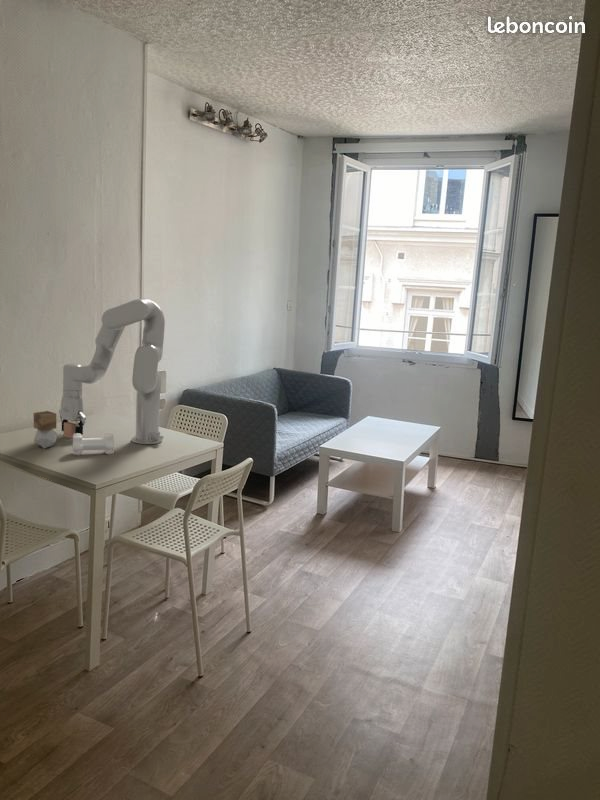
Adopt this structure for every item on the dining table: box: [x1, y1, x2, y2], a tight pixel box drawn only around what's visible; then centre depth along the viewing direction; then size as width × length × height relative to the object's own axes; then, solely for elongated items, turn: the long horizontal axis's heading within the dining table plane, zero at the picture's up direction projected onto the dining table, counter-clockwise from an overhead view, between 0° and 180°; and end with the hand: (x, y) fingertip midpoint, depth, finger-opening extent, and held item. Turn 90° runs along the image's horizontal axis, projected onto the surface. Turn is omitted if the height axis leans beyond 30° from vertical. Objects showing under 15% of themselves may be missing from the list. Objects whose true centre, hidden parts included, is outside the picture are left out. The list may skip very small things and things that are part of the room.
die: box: [32, 429, 59, 449], centre depth 247 cm, size 8×9×10 cm
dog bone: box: [72, 432, 115, 457], centre depth 242 cm, size 15×9×8 cm, turn 112°
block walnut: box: [33, 410, 57, 431], centre depth 245 cm, size 6×6×6 cm
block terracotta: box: [63, 421, 80, 439], centre depth 265 cm, size 5×5×6 cm
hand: (72, 432), depth 265 cm, fingers open, 9 cm apart
